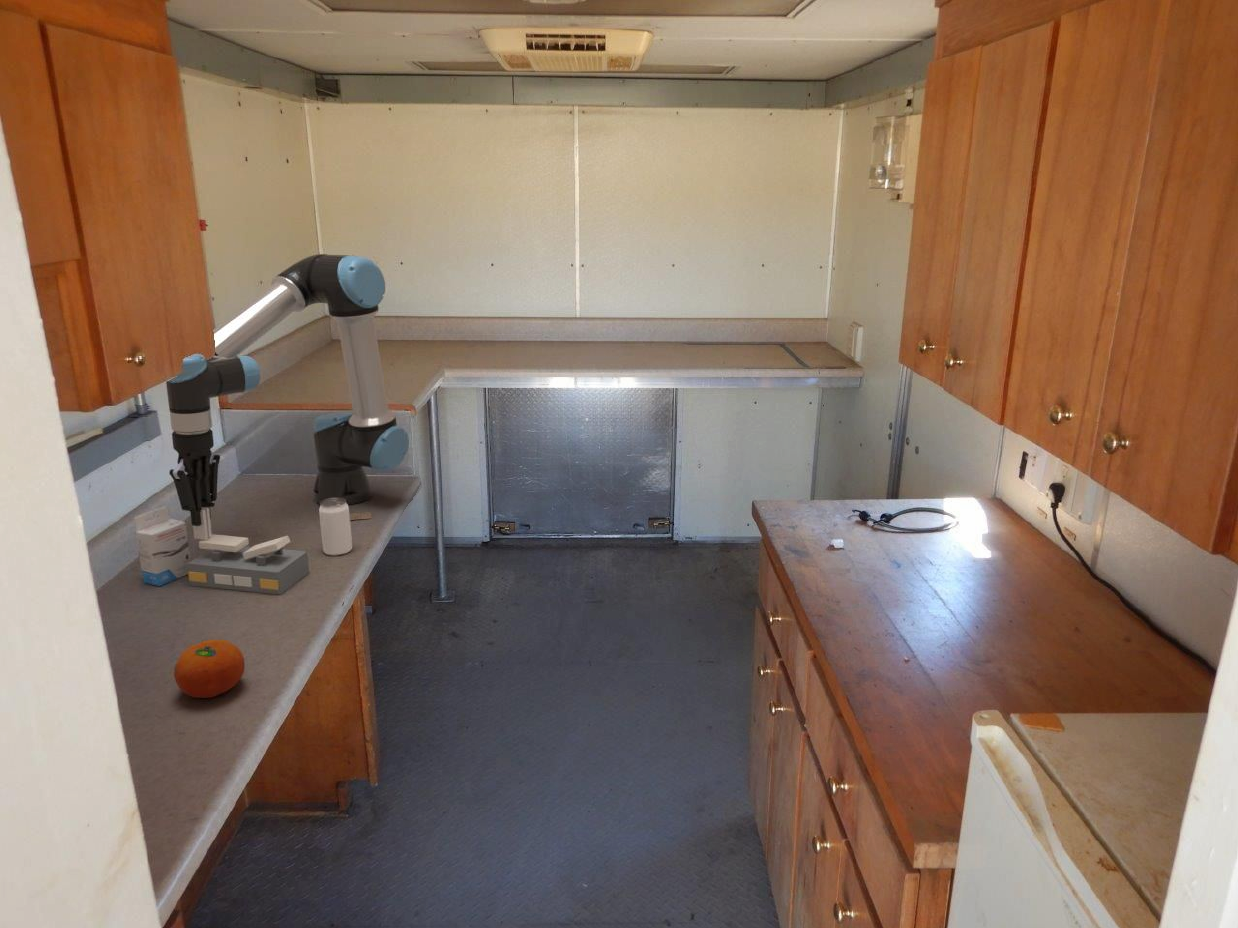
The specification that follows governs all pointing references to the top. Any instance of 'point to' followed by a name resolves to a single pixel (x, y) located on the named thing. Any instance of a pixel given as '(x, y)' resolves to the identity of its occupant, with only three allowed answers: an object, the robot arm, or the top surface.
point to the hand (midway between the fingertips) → (203, 537)
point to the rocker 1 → (224, 543)
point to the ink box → (162, 547)
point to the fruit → (209, 668)
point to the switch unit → (249, 570)
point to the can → (335, 526)
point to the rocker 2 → (266, 548)
